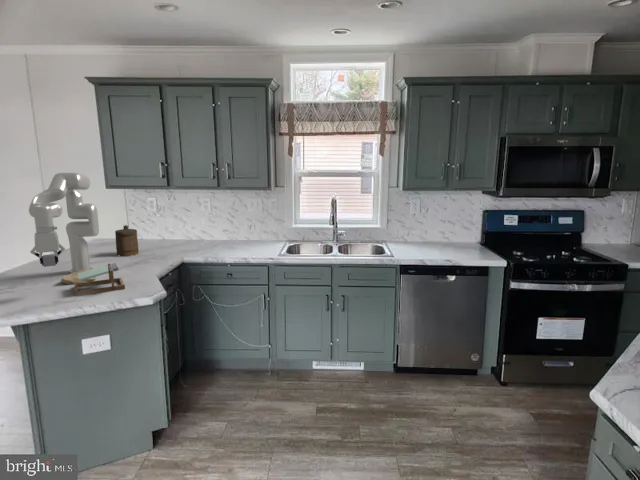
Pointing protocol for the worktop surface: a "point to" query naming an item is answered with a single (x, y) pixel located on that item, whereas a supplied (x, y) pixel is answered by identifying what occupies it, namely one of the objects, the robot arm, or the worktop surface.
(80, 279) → the trapdoor
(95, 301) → the worktop surface
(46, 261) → the block
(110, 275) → the frame
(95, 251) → the worktop surface
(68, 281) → the rock
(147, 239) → the worktop surface
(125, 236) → the wooden container
